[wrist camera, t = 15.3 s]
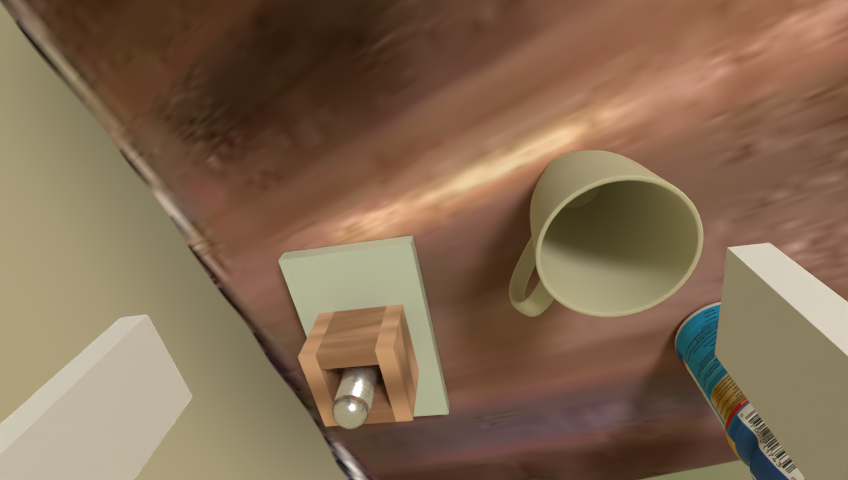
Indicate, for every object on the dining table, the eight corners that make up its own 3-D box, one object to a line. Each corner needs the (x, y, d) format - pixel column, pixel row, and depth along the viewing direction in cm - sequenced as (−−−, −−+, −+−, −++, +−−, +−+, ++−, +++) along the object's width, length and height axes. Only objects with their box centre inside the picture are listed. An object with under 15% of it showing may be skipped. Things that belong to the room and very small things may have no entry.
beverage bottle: (773, 288, 39) (1035, 523, 21) (767, 363, 42) (987, 618, 24) (669, 304, 40) (829, 535, 23) (671, 375, 44) (811, 623, 26)
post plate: (284, 252, 41) (278, 260, 40) (412, 235, 39) (410, 243, 38) (341, 410, 50) (338, 421, 48) (449, 402, 48) (448, 414, 47)
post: (351, 332, 43) (323, 411, 34) (381, 329, 42) (360, 408, 34) (358, 356, 44) (333, 438, 36) (388, 354, 44) (370, 436, 35)
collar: (319, 313, 42) (297, 357, 37) (402, 304, 41) (393, 348, 36) (341, 377, 46) (325, 426, 40) (419, 371, 44) (413, 420, 39)
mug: (505, 126, 34) (522, 177, 24) (640, 122, 34) (721, 174, 23) (500, 252, 39) (514, 342, 29) (618, 252, 38) (678, 344, 28)
